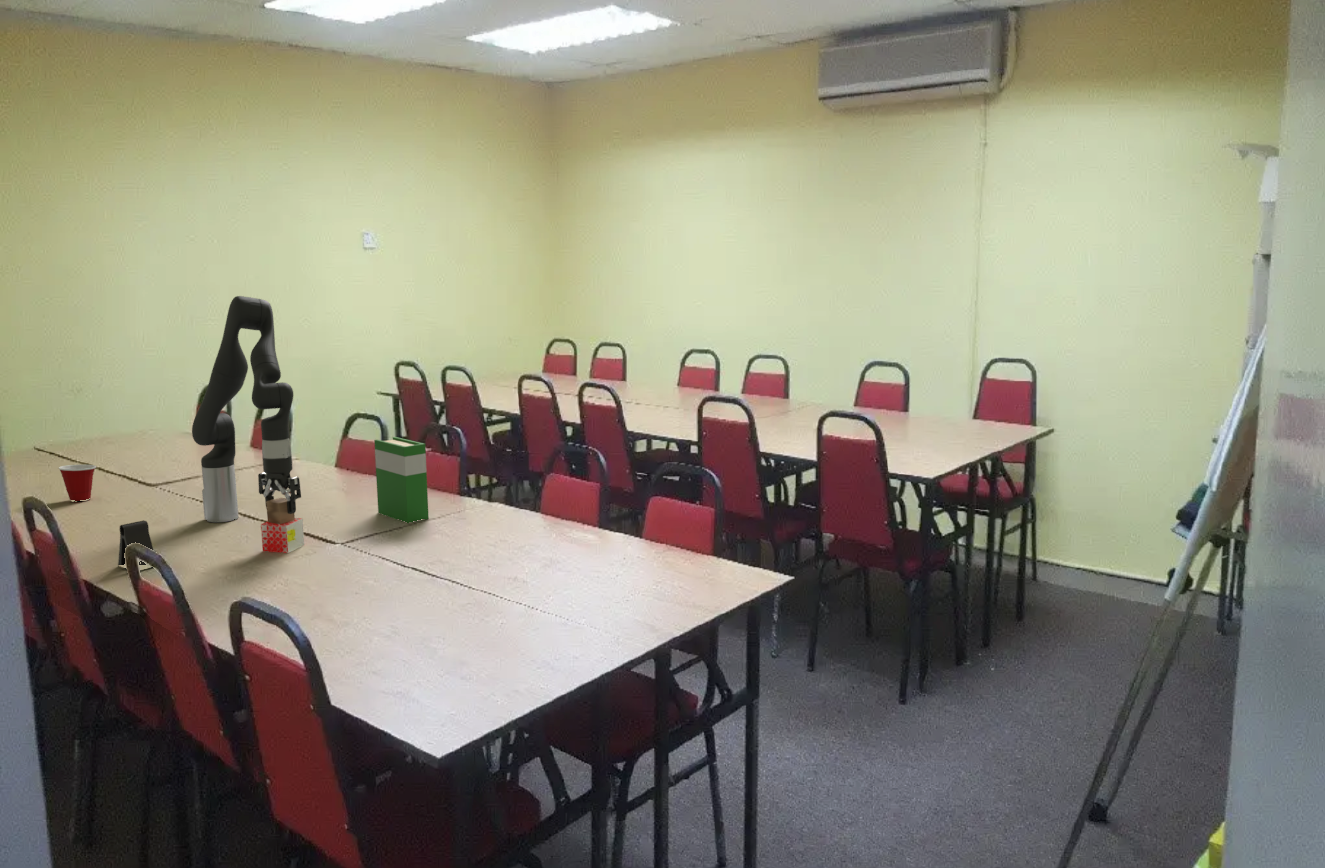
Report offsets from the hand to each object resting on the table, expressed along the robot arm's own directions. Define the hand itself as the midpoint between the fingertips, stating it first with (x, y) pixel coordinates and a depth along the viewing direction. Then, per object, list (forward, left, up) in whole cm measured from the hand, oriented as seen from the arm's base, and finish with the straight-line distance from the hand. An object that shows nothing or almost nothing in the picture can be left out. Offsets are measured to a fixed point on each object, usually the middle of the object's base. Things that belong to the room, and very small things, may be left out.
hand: (281, 511), depth 263 cm
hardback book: (+5, +42, -11) cm, 44 cm away
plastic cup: (-105, +5, -11) cm, 106 cm away
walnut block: (0, 0, -3) cm, 3 cm away
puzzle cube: (0, 0, -11) cm, 11 cm away
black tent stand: (-20, -30, -11) cm, 38 cm away
